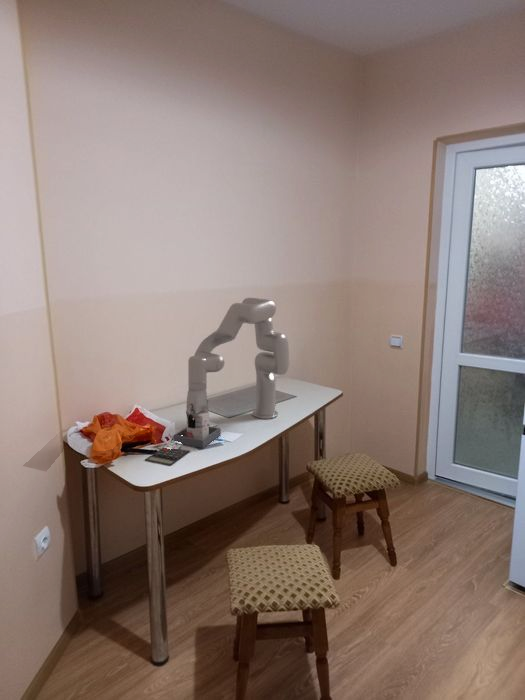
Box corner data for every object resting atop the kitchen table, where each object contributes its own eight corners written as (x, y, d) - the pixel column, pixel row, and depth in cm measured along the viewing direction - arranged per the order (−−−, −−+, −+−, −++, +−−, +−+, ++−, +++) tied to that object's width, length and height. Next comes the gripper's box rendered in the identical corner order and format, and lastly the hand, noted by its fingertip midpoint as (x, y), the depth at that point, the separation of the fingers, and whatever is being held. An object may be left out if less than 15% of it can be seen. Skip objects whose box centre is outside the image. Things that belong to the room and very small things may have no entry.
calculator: (190, 450, 204) (170, 464, 190) (190, 452, 204) (170, 467, 190) (165, 445, 208) (144, 459, 194) (165, 447, 208) (144, 461, 194)
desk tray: (192, 431, 226) (192, 423, 226) (220, 436, 221) (220, 428, 221) (173, 443, 212) (173, 435, 211) (202, 449, 207) (203, 440, 206)
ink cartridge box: (186, 438, 217) (186, 405, 214) (193, 434, 221) (193, 402, 218) (202, 442, 212) (202, 408, 209) (209, 438, 217) (209, 405, 214)
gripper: (199, 379, 221) (199, 417, 225) (178, 389, 205) (179, 429, 209) (215, 381, 218) (214, 419, 222) (195, 391, 203) (195, 432, 206)
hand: (197, 424), depth 215 cm, fingers open, 9 cm apart
